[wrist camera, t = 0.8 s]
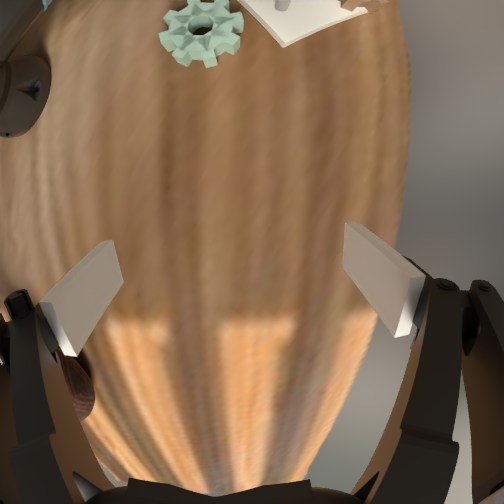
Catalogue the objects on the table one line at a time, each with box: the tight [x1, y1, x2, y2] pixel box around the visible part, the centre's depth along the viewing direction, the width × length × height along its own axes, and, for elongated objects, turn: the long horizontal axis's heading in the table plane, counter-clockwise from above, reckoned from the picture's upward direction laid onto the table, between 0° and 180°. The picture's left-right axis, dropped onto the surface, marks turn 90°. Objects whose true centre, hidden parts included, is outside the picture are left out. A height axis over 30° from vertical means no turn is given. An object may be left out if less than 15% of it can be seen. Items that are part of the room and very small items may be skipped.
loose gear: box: [159, 0, 244, 68], centre depth 25 cm, size 10×10×4 cm
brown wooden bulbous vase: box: [55, 347, 95, 421], centre depth 35 cm, size 22×22×30 cm
